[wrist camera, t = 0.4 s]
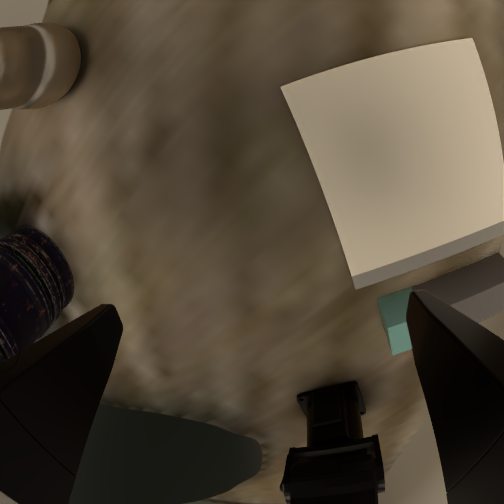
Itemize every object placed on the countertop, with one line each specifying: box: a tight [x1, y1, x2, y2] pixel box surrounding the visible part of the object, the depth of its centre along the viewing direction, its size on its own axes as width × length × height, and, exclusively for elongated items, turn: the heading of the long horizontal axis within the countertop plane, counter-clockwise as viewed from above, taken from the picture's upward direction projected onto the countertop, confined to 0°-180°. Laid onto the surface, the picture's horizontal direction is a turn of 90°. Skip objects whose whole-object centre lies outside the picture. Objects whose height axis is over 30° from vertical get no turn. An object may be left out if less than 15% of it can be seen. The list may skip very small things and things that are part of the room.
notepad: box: [280, 38, 504, 289], centre depth 18 cm, size 15×14×1 cm
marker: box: [377, 253, 504, 355], centre depth 21 cm, size 3×12×4 cm, turn 114°
